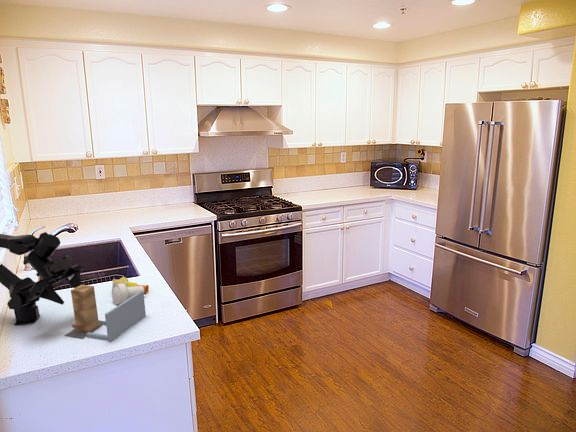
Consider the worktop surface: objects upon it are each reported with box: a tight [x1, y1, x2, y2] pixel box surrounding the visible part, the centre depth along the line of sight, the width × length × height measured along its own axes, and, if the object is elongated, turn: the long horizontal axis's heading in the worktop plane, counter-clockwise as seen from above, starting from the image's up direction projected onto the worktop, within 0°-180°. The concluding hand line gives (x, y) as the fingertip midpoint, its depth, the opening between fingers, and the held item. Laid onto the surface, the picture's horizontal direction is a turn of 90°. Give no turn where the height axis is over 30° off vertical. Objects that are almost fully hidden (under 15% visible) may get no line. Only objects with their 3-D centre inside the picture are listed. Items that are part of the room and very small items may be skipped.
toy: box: [111, 276, 150, 295], centre depth 176 cm, size 5×15×10 cm
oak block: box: [70, 284, 99, 333], centre depth 142 cm, size 9×5×15 cm, turn 74°
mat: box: [64, 319, 106, 340], centre depth 144 cm, size 8×12×1 cm, turn 164°
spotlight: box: [111, 283, 145, 306], centre depth 166 cm, size 8×11×8 cm
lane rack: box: [86, 291, 147, 343], centre depth 144 cm, size 10×19×10 cm, turn 164°
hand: (73, 298), depth 142 cm, fingers open, 9 cm apart
